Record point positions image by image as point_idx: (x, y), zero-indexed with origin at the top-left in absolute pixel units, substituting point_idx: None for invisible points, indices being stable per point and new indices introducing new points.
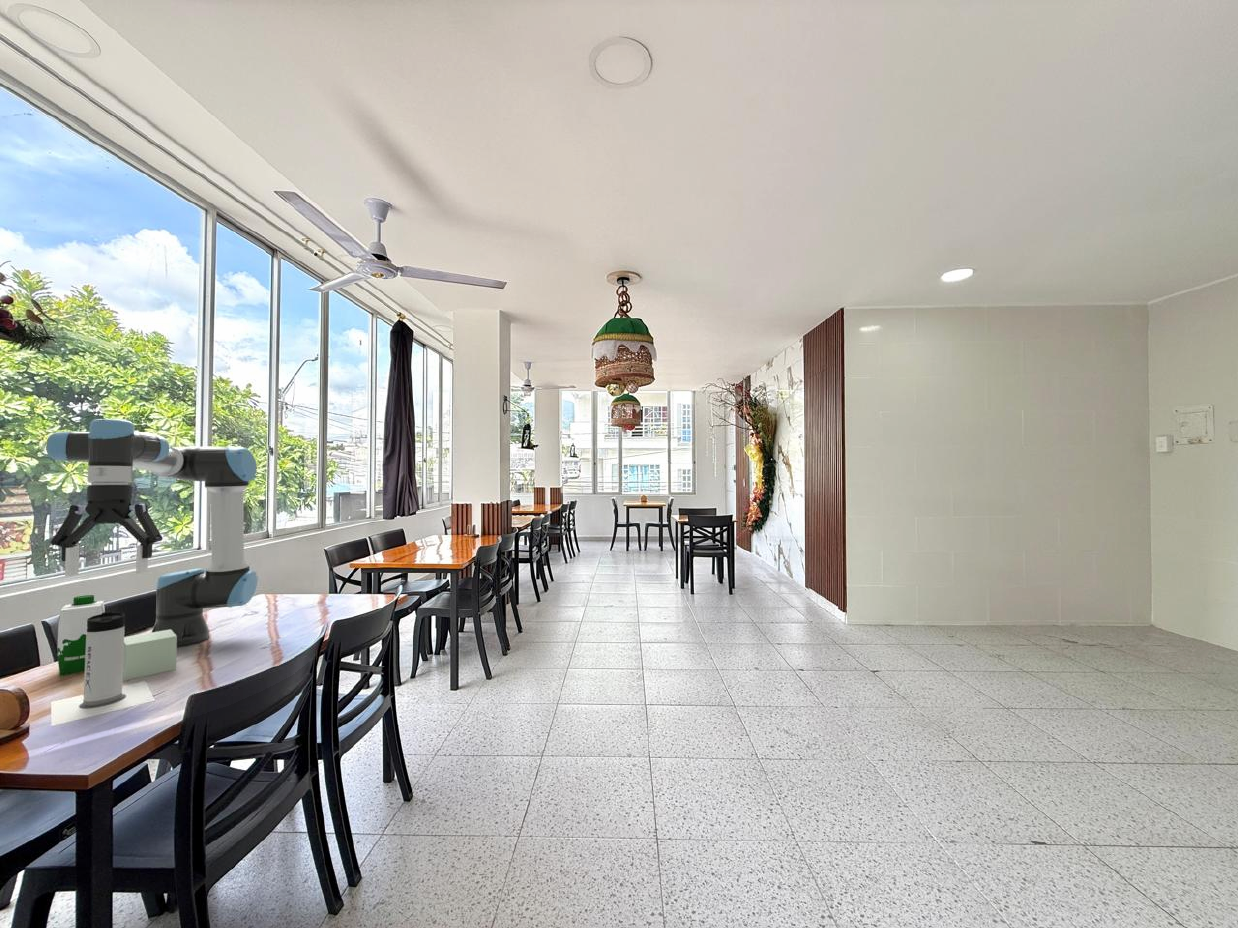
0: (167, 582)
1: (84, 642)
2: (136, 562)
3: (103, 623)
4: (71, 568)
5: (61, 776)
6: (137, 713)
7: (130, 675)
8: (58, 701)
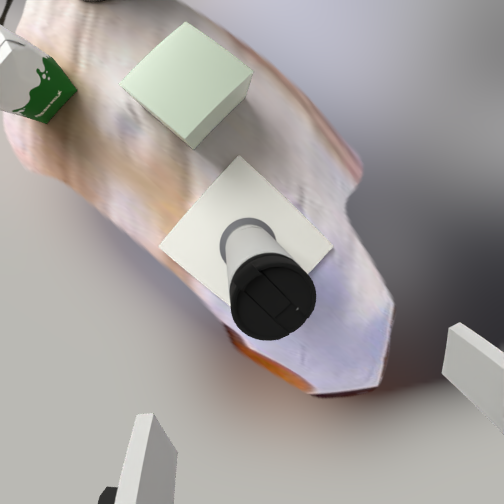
0: None
1: (40, 93)
2: (471, 401)
3: (295, 328)
4: (168, 471)
5: (359, 391)
6: (328, 273)
7: (197, 142)
8: (168, 244)
